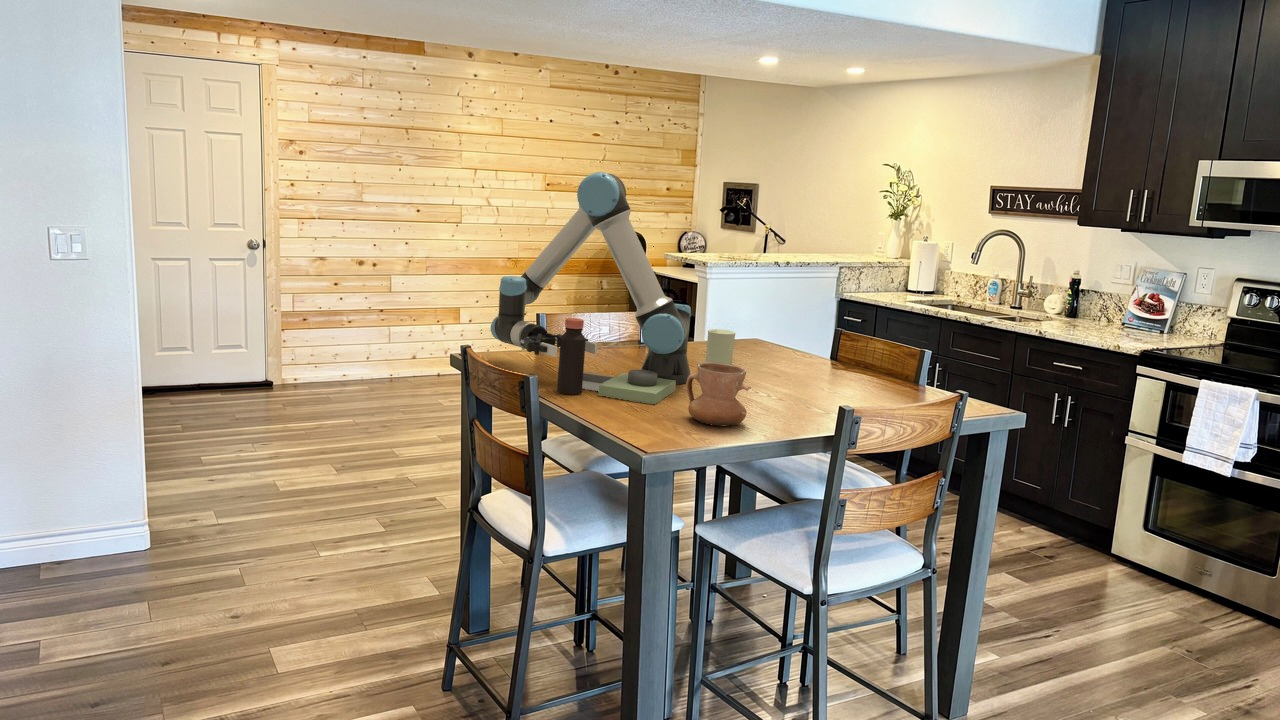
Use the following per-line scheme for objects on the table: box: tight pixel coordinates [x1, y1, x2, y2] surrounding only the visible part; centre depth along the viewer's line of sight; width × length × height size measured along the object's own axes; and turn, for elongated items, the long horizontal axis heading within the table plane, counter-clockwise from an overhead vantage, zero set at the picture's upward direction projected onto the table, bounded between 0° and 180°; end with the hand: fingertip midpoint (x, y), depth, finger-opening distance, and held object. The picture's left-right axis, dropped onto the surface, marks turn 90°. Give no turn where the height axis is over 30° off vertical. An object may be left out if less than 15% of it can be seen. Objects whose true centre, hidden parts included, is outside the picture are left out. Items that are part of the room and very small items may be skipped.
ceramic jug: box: [685, 362, 752, 426], centre depth 231 cm, size 18×14×14 cm
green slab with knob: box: [582, 369, 677, 405], centre depth 257 cm, size 20×28×6 cm
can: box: [704, 328, 736, 366], centre depth 306 cm, size 9×9×12 cm
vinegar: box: [556, 317, 587, 396], centre depth 248 cm, size 7×7×20 cm
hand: (576, 350), depth 247 cm, fingers open, 13 cm apart
